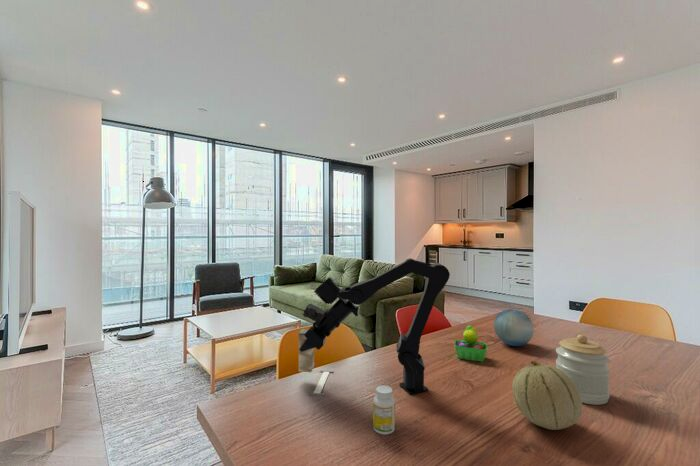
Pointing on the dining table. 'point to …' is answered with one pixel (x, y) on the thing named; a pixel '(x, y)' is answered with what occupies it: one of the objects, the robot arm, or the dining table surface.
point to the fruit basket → (470, 346)
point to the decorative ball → (513, 327)
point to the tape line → (321, 383)
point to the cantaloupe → (547, 396)
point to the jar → (585, 368)
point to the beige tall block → (305, 355)
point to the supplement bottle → (384, 410)
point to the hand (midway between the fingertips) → (302, 348)
